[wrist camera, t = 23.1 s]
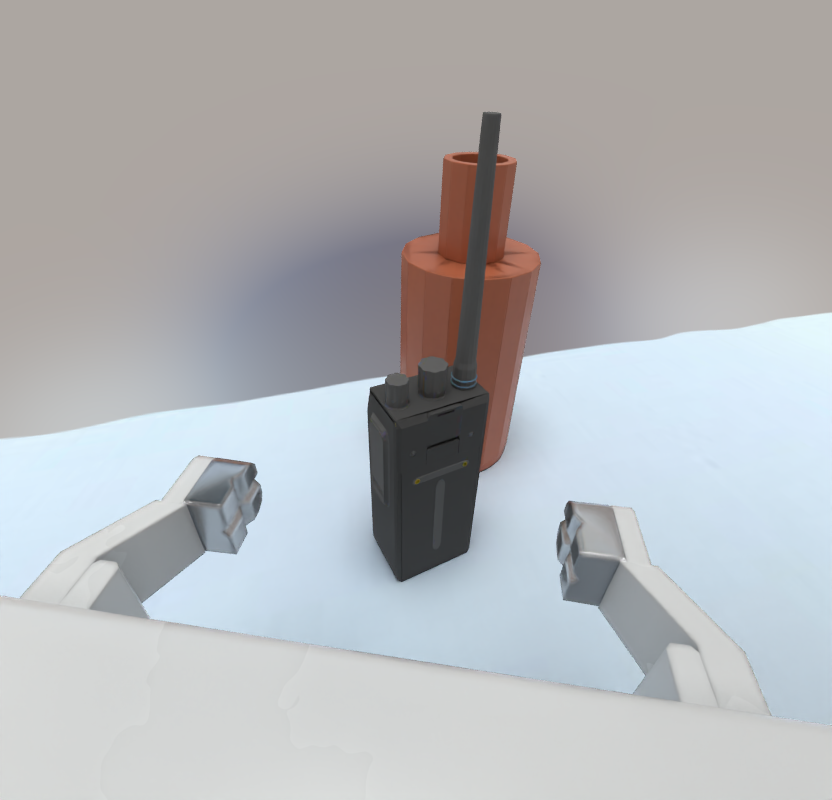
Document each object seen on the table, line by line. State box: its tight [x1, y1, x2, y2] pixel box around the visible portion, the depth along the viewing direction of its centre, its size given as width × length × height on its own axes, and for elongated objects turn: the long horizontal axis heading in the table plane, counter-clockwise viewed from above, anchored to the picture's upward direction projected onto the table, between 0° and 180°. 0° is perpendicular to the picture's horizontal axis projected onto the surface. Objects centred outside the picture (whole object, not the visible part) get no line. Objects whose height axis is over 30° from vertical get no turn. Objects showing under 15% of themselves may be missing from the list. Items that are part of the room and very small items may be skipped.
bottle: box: [400, 152, 541, 472], centre depth 27 cm, size 7×7×18 cm
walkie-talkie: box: [367, 112, 501, 582], centre depth 19 cm, size 5×3×20 cm
